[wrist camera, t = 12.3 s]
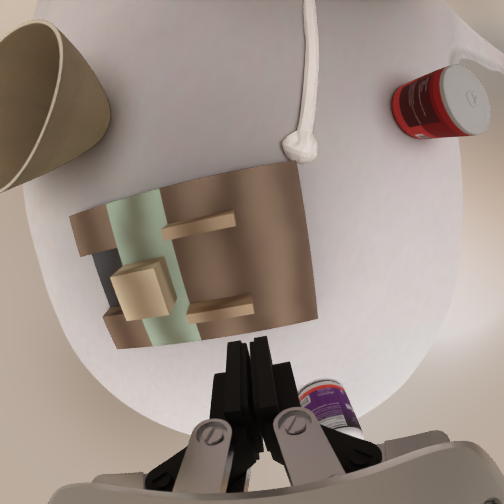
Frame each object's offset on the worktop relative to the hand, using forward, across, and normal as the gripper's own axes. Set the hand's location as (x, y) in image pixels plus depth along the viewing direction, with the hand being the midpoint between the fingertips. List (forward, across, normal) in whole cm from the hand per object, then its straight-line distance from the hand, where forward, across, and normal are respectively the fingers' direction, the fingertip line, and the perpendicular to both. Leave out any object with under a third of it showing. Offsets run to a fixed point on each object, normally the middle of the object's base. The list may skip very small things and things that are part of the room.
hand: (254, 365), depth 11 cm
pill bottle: (+21, -6, +27) cm, 35 cm away
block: (+18, +11, +2) cm, 21 cm away
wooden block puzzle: (+21, +6, +1) cm, 22 cm away
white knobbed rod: (+22, -11, -21) cm, 32 cm away
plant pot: (+22, +16, -19) cm, 33 cm away
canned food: (+22, -25, -13) cm, 35 cm away
